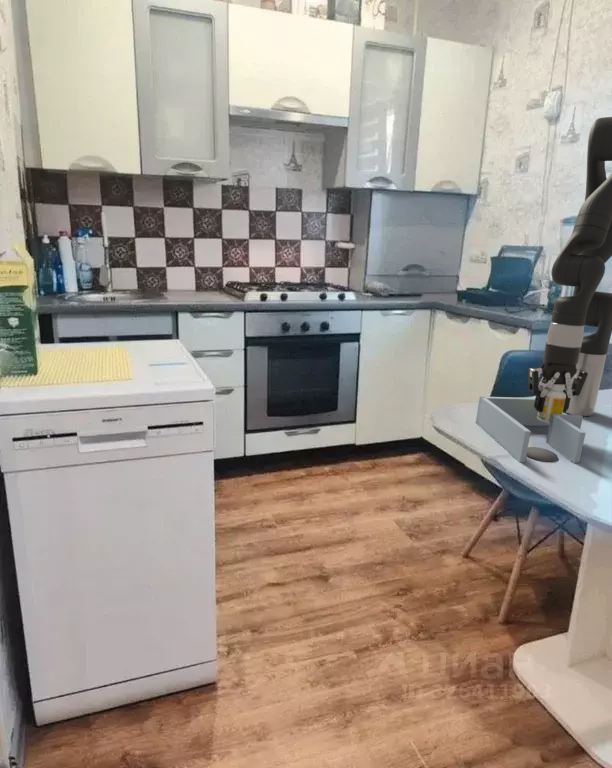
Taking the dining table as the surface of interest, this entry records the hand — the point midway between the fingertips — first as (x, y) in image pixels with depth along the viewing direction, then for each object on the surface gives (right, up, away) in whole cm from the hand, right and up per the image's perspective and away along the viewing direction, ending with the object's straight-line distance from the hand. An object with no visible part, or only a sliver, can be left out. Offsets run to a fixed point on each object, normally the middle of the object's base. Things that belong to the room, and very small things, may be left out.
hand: (550, 410), depth 131 cm
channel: (-5, -7, -4) cm, 10 cm away
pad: (-7, -9, -12) cm, 16 cm away
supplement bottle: (0, -3, +1) cm, 3 cm away
